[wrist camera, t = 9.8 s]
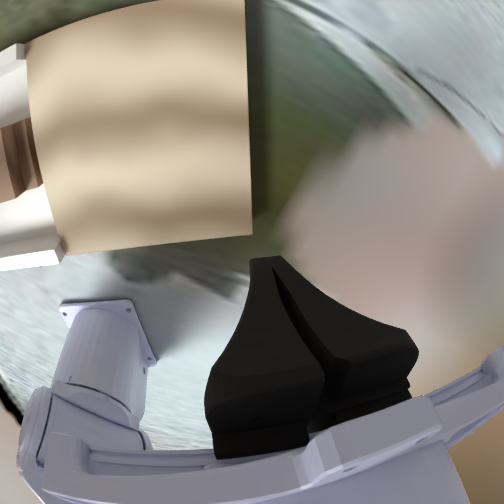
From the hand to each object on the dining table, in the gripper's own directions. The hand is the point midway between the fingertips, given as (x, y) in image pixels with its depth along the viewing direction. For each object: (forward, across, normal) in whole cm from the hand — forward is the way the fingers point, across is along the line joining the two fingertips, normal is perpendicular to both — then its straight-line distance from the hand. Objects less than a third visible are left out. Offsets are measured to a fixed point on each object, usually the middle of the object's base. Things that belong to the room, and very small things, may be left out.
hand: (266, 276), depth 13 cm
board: (+9, +6, -6) cm, 13 cm away
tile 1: (+8, +18, -6) cm, 20 cm away
